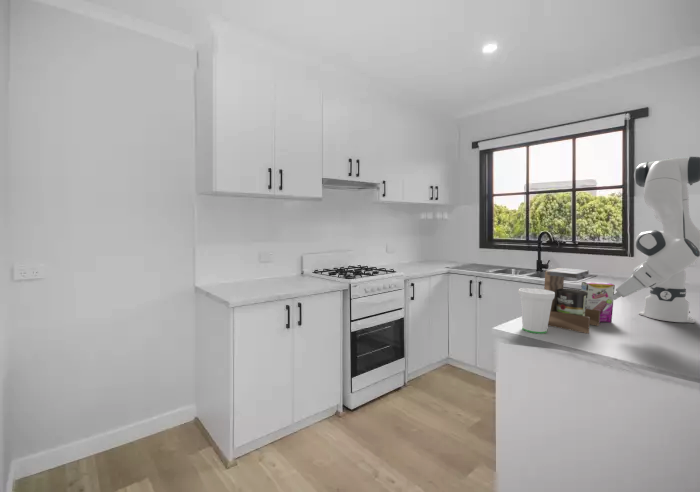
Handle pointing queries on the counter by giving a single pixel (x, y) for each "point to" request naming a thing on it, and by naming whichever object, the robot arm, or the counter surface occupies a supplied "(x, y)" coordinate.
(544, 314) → the cup
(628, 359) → the counter surface
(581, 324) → the wooden caddy stand
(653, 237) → the robot arm
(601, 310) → the candy bar box
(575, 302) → the coffee can
